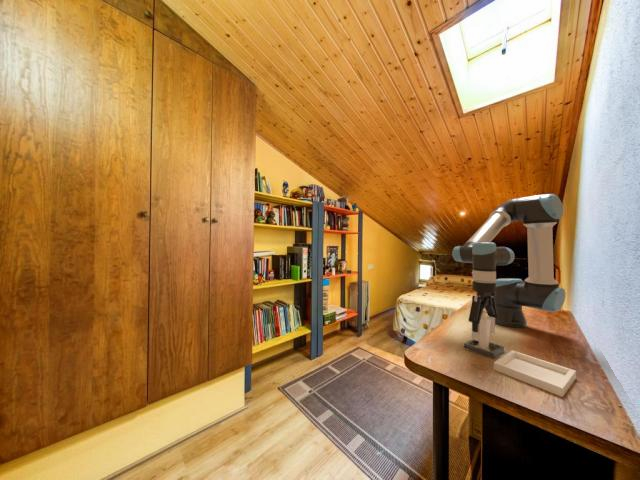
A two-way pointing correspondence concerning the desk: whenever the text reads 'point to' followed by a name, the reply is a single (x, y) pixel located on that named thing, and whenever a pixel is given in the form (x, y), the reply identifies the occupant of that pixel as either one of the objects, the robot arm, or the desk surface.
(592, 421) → the desk surface
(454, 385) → the desk surface
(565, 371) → the tray
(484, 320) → the perfume bottle
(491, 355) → the ring collar
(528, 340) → the desk surface
